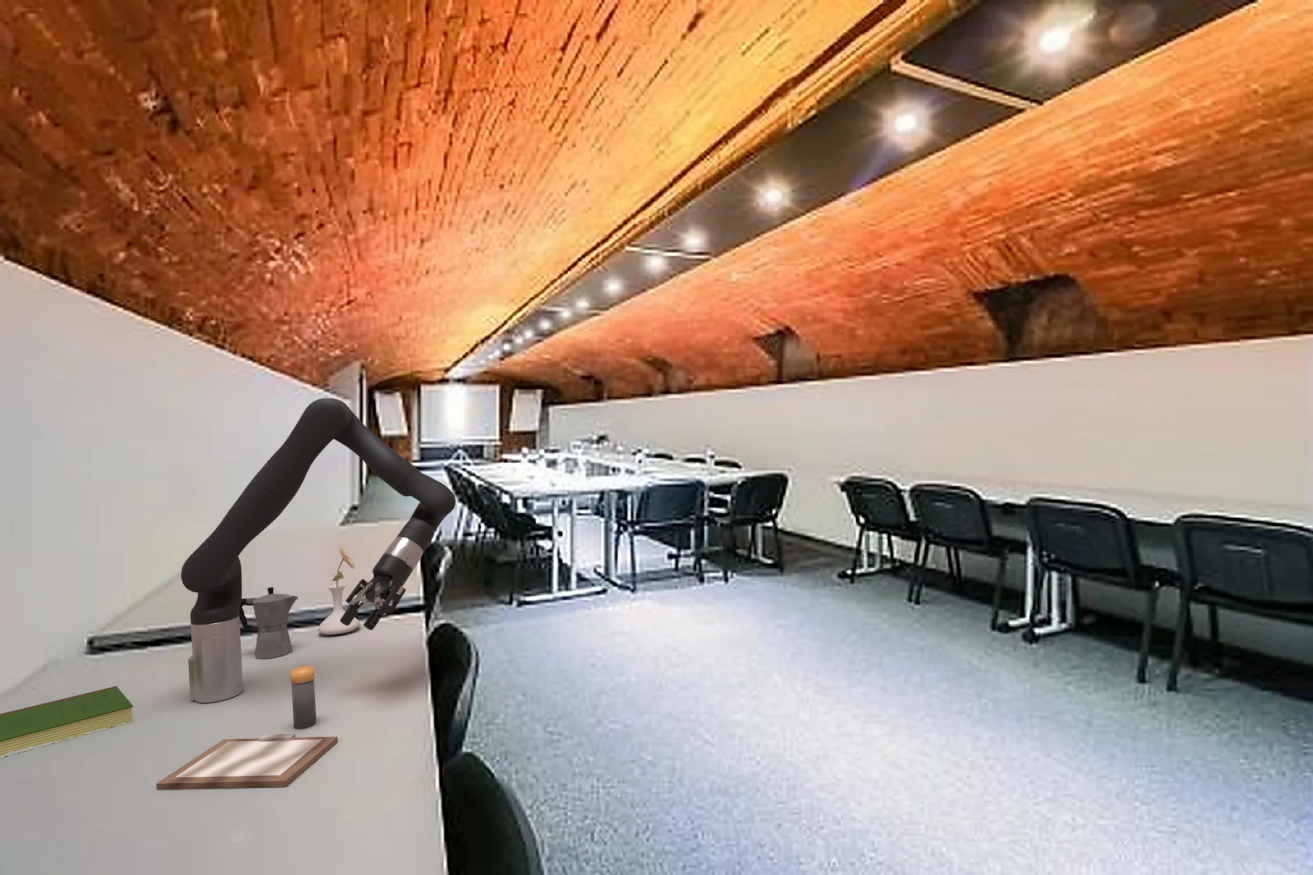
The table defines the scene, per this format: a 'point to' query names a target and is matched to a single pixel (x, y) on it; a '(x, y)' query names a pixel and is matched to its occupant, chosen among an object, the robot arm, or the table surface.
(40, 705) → the hardcover book
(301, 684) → the orange and grey cylinder
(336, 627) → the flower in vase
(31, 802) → the table surface
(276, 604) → the coffeepot
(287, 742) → the clipboard
